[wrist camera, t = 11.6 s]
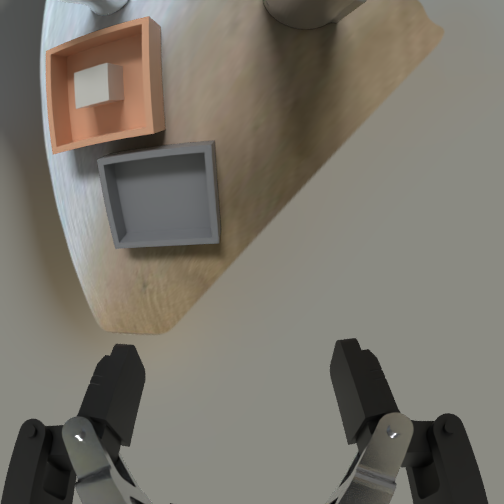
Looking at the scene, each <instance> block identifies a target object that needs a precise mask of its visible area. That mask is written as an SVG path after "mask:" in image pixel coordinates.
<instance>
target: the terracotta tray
mask: <svg viewBox="0 0 504 504" xmlns="http://www.w3.org/2000/svg"><path fill="white" fill-rule="evenodd" d="M104 63H111V64H115V65H119V66H123V84H124V100H121V101H116V102H112V103H108V104H104V105H99V106H96V107H89V108H79V109H76V104H75V86H74V73H76V72H79V71H82V70H85V69H88V68H91V67H94V66H98V65H101V64H104ZM46 92H47V108H48V119H49V129H50V137H51V145H52V151H53V154H57V153H60V152H64V151H68V150H72V149H76V148H80V147H84V146H89V145H93V144H98V143H103V142H108V141H113V140H118V139H123V138H129V137H135V136H141V135H148V134H154V133H157V132H160V131H163V130H165V118H164V103H163V87H162V64H161V27H160V26H159V25H158V24H157V23H156V22H155V21H154V20H153V19H151V18H150V17H149V16H148V17H144V18H140V19H136V20H132V21H128V22H124V23H121V24H117V25H114V26H110V27H107V28H104V29H101V30H98V31H95V32H92V33H89V34H86V35H84V36H81V37H78V38H76V39H73V40H71V41H68V42H66V43H64V44H61V45H59V46H57V47H54V48H52V49H50V50H48V51H46Z"/></svg>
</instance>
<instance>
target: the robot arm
mask: <svg viewBox="0 0 504 504" xmlns="http://www.w3.org/2000/svg"><path fill="white" fill-rule="evenodd" d="M263 2H264V5H265V7H266V9H267V11H268V12H269V13H270V14H271V16H273V17H274V18H275V19H276V20H277V21H279V22H281V23H282V24H284V25H287V26H290V27H293V28H297V29H315V28H318V27H322V26H323V25H325V24H327V23H329V22H333V23H338V22H339V21H340V20H341V19H343V18H344V17H345V16H347V15H348V14H349V13H351V12H352V11H354V10H355V9H356V8H358V7H359V6H360V5H362V4H363V3H365V2H366V0H263ZM381 369H382V368H381V366H380V363H379V361H378V359H377V357H375V355H374V354H373V353H372V352H370V350H368V349H367V350H361V348H360V345H359V343H358V341H357V339H356V338H352V339H344V340H337V341H336V344H335V348H334V352H333V356H332V360H331V364H330V376H331V380H332V384H333V387H334V391H335V395H336V398H337V402H338V406H339V410H340V414H341V417H342V421H343V426H344V430H345V434H346V438H347V442H348V445H349V444H354V443H357V446H358V451H357V453H356V455H355V457H354V459H353V461H352V462H351V464H350V466H349V468H348V470H347V471H346V473H345V475H344V477H343V478H342V480H341V482H340V483H339V485H338V486H337V488H336V490H335V491H334V492H333V493H332V495H331V496H330V498H329V499H328V500H327V502H326V503H325V504H389V503H390V500H391V498H392V496H393V494H394V492H395V489H396V483H395V479H396V476H397V474H398V472H399V469H400V467H406V470H407V475H408V479H409V484H410V489H411V493H412V498H413V504H488V501H487V497H486V493H485V489H484V485H483V482H482V478H481V475H480V471H479V468H478V465H477V462H476V459H475V456H474V453H473V450H472V447H471V445H470V442H469V439H468V436H467V433H466V431H465V428H464V426H463V423H462V421H461V420H460V418H459V417H457V416H455V415H454V414H449V413H448V414H443V415H441V416H439V417H438V418H437V419H436V420H435V421H413V420H410V419H409V418H408V417H407V416H406V415H404V414H401V413H400V411H399V410H398V407H397V405H396V403H395V400H394V397H393V395H392V392H391V390H390V387H389V385H388V382H387V380H386V379H385V375H384V373H383V371H382V370H381ZM144 383H145V369H144V366H143V364H142V362H141V359H140V357H139V355H138V353H137V350H136V348H135V346H134V345H127V344H116V345H115V346H114V347H113V350H112V353H111V355H110V356H108V355H105V356H104V357H103V358H102V359H101V360H100V362H99V363H98V364H97V366H96V369H95V371H94V374H93V376H92V378H91V381H90V384H89V386H88V389H87V391H86V394H85V397H84V399H83V402H82V405H81V408H80V410H79V413H78V415H77V416H76V417H73V418H70V419H69V420H68V421H67V422H66V423H65V424H64V425H59V426H45V425H44V424H43V423H42V422H40V421H39V420H37V419H29V420H27V421H25V422H24V423H23V424H22V426H21V428H20V431H19V434H18V437H17V440H16V443H15V447H14V450H13V454H12V457H11V461H10V464H9V468H8V472H7V477H6V481H5V486H4V490H3V495H2V500H1V504H72V502H73V495H74V488H75V487H76V490H77V493H78V495H79V497H80V499H81V502H82V504H152V502H151V501H150V499H149V498H148V497H147V496H146V494H145V493H144V492H143V491H142V490H141V489H140V487H139V486H138V484H137V483H136V481H135V479H134V478H133V476H132V474H131V472H130V471H129V469H128V467H127V465H126V463H125V462H124V460H123V458H122V456H121V454H120V453H119V450H120V445H122V446H128V447H129V446H130V443H131V438H132V434H133V429H134V424H135V420H136V416H137V412H138V407H139V403H140V399H141V395H142V391H143V387H144ZM76 476H77V478H78V482H76ZM75 482H76V483H75ZM170 504H171V503H170Z"/></svg>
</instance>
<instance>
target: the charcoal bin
mask: <svg viewBox="0 0 504 504" xmlns="http://www.w3.org/2000/svg"><path fill="white" fill-rule="evenodd" d="M97 163H98V170H99V176H100V181H101V187H102V192H103V197H104V202H105V207H106V212H107V216H108V221H109V225H110V229H111V233H112V237H113V241H114V245H115V249H118V248H136V247H155V246H174V245H195V244H216V243H219V240H220V234H221V223H220V210H219V198H218V184H217V170H216V155H215V140H214V141H201V142H190V143H180V144H171V145H163V146H155V147H148V148H141V149H134V150H128V151H122V152H116V153H110V154H108V155H106V156H104V157H101V158H99V159H97Z"/></svg>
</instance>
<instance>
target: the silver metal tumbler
mask: <svg viewBox="0 0 504 504" xmlns="http://www.w3.org/2000/svg"><path fill="white" fill-rule="evenodd" d="M58 1H62V2H67V3H74V4H81V5H86V6H88V7H89V8H90V9H91V10H92V11H93V12H94V13H95V14H97V15H110V14H112V13H115V12H116V11H118V10H120V9H121V8H122V7H123V6H124V5H125V4H126V3H127V2H128V0H58Z"/></svg>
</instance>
